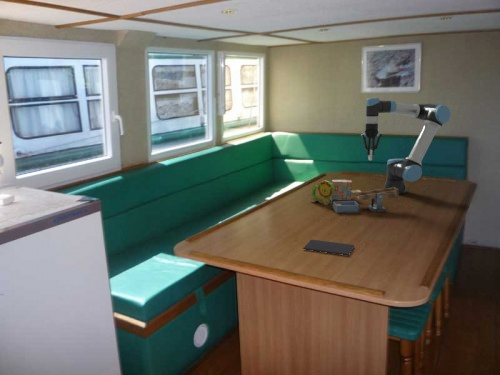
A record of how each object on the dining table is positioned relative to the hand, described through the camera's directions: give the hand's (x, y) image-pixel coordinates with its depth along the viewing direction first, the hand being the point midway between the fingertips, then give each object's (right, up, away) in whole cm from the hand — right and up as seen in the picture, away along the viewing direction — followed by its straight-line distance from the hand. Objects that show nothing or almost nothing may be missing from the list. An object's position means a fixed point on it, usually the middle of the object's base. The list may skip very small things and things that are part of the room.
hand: (370, 160), depth 290 cm
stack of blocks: (-21, -25, +11) cm, 34 cm away
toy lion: (-30, -28, +1) cm, 41 cm away
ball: (-23, -29, -17) cm, 41 cm away
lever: (0, -23, -12) cm, 26 cm away
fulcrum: (0, -31, -15) cm, 34 cm away
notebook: (-40, -47, -77) cm, 98 cm away
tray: (-19, -31, -16) cm, 40 cm away
